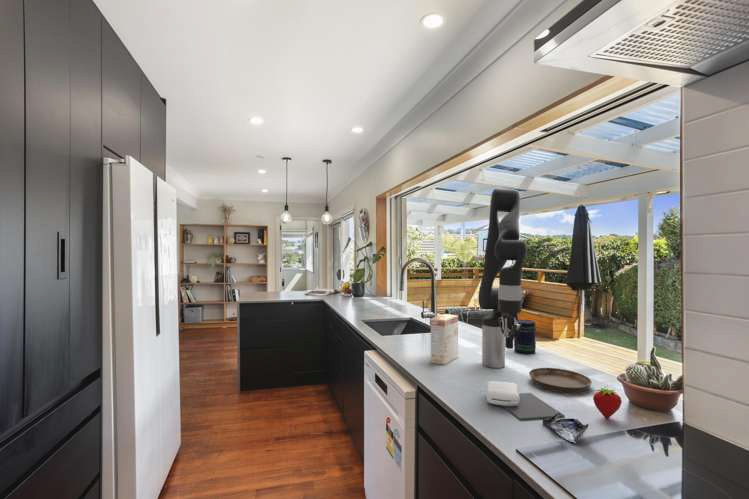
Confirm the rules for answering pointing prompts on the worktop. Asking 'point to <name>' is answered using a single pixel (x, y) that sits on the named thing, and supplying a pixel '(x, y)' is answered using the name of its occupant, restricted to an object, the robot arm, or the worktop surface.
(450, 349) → the coffeecake box
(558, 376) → the plant saucer
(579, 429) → the snack package
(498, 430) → the worktop surface
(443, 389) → the worktop surface
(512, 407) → the mat
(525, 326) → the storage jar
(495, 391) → the photo printer
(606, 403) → the strawberry
